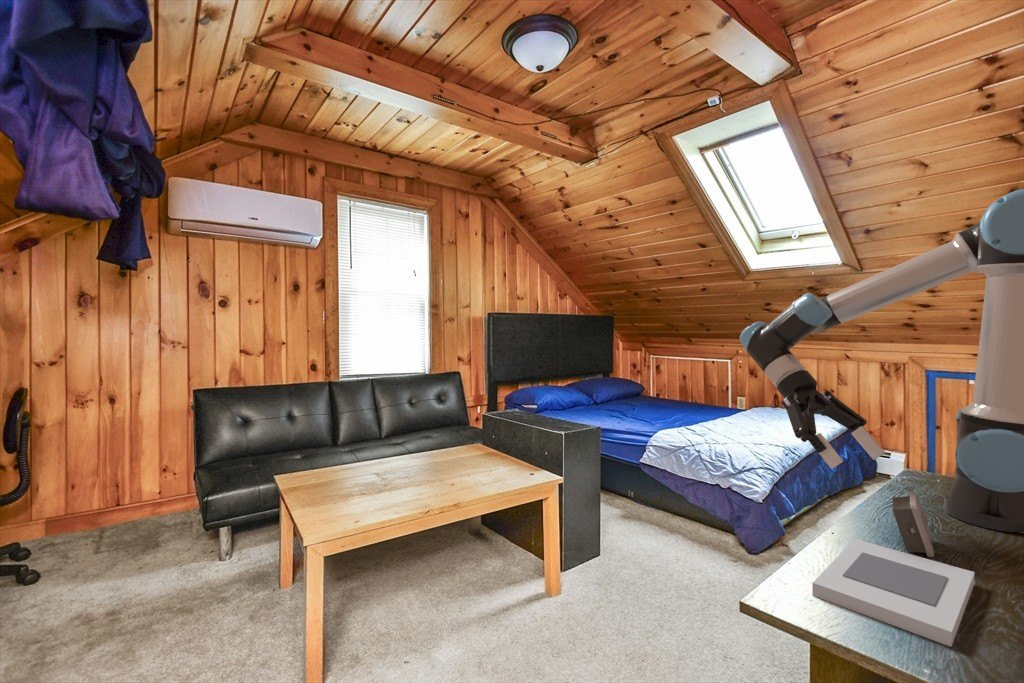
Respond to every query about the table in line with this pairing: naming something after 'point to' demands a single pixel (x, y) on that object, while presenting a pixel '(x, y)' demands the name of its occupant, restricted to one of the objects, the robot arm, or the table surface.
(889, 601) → the mounting board
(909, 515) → the electrical switch
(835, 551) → the table surface
